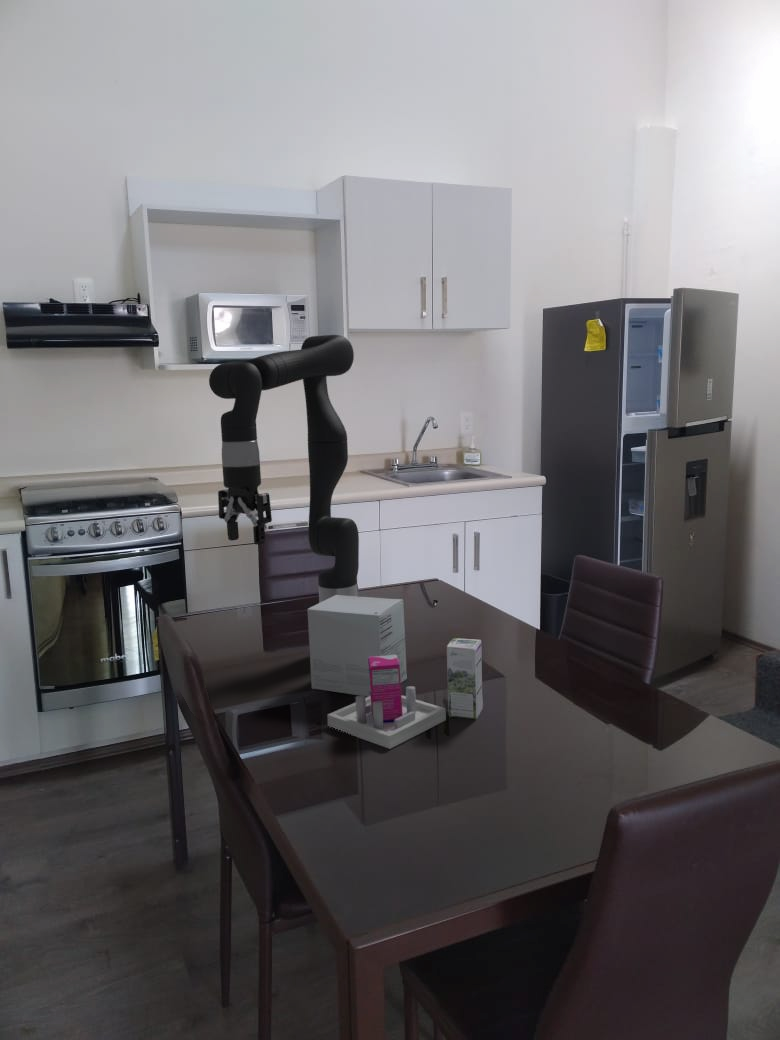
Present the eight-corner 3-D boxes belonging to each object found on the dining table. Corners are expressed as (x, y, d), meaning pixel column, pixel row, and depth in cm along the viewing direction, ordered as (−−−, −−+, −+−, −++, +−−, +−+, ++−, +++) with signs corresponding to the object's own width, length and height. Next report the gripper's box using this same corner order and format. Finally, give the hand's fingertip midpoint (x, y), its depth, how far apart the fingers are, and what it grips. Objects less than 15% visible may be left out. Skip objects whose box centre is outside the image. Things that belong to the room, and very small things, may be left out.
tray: (384, 701, 171) (383, 672, 170) (445, 720, 160) (445, 689, 159) (327, 726, 159) (326, 695, 158) (389, 748, 149) (388, 716, 148)
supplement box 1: (408, 678, 184) (405, 598, 181) (382, 700, 172) (379, 615, 169) (339, 669, 191) (335, 592, 188) (309, 689, 179) (305, 608, 176)
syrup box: (483, 708, 165) (482, 638, 163) (476, 720, 160) (475, 647, 157) (455, 706, 167) (453, 636, 165) (447, 717, 161) (445, 645, 159)
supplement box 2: (370, 712, 162) (367, 655, 160) (400, 710, 163) (398, 653, 161) (372, 724, 157) (369, 665, 155) (403, 722, 157) (401, 663, 155)
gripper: (278, 462, 167) (283, 542, 169) (234, 460, 176) (239, 535, 179) (248, 466, 161) (253, 548, 164) (204, 463, 171) (210, 541, 173)
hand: (246, 541), depth 171 cm, fingers open, 8 cm apart
